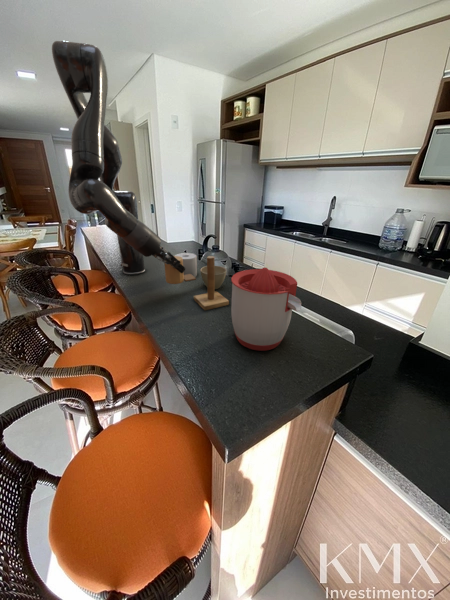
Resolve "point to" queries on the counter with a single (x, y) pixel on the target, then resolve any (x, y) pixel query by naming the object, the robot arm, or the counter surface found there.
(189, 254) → the toilet tissue
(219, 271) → the beige bowl
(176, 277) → the cap
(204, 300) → the paper towel holder
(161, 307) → the counter surface
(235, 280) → the citrus juicer
